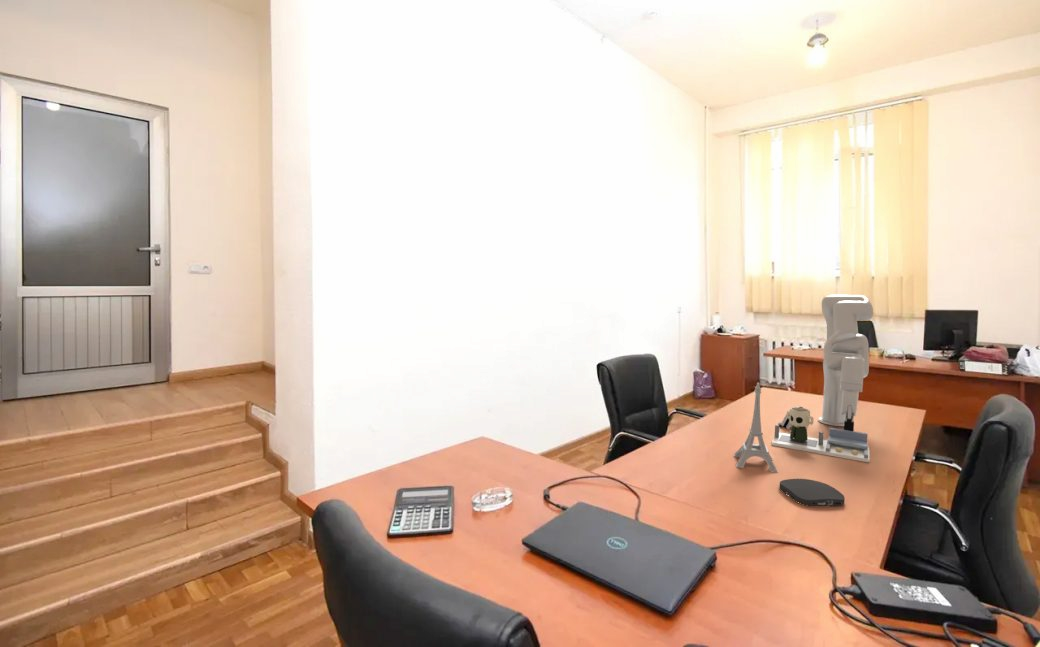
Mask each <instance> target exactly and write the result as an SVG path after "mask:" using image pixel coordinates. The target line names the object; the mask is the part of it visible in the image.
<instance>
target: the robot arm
mask: <svg viewBox="0 0 1040 647" xmlns="http://www.w3.org/2000/svg"><path fill="white" fill-rule="evenodd" d="M821 312H822V315H823V318H824V319H825V322H826V323H825V324H826V341H825V343H824V346H823V360H822V368H823V379H824V380H823V395H822V396H823V400H822V413H821V414H822V415H821V416H819V417H818V422H819V423H821V424H823V425H828V426H832V427H843V430H848V431H855V428H854V427H855V421H854V418H855V417H856V416H857V412H858V404H859V395H860V394H859V393H863V386H864V378H866V377H868V375H869V369H870V368H869V367H870V362H869V361H870V359H869V358H870V356H869V349H870V347H869V346H870V345H869V339H868V337H867V336H866V335H864V334H861V333H859V329H858V328H859V326H858V321H870V320H871V319H872V318H873V314H874V307H873V304H872V302H871V301H870V300H869V298H868V297H867V296H865V295H861V294H830V295H826V296H824V297H823V298H822V301H821Z"/></svg>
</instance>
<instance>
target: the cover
mask: <svg viewBox="0 0 1040 647" xmlns="http://www.w3.org/2000/svg"><path fill="white" fill-rule="evenodd" d="M828 432H829V436H828V438H829V439H828V438H827V440H828V443H833V444H839V445H845V446H851V447H857V448H864V449H867V444H868V436H869V435H868V432H860V431H855V430H854V431H848V430H844V429H842V428H841V429H840V428H833V427H829V431H828Z"/></svg>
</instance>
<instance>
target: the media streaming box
mask: <svg viewBox="0 0 1040 647" xmlns="http://www.w3.org/2000/svg"><path fill="white" fill-rule="evenodd" d="M779 488H780V489H781V490H782V491H783V492H784V493H783V492H782V491H781V490H780V489H779ZM779 488H778V489H779V490H780V491H781V492H782V493H783V494H785V495H786V494H787V495H789V496H790V497H791V498H792V500H793V499H794V500H795V501H794V500H793V501H794V502H796V501H797V502H799V503H801V504H800V505H802V504H804V505H803V506H805V505H808V506H807V507H811V506H830V507H842V506H841V505H843V504H844V505H845V495H844V494H843V493H842V492H840V490H837V488H834V487H833V486H831V485H830V484H827V483H825V482H822V481H817V480H814V479H807V478H788V479H782V480H781V481H779ZM787 495H786V496H787ZM790 497H789V498H790ZM791 498H790V499H791ZM797 502H796V503H797ZM799 503H798V504H799ZM844 505H843V506H844Z"/></svg>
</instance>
